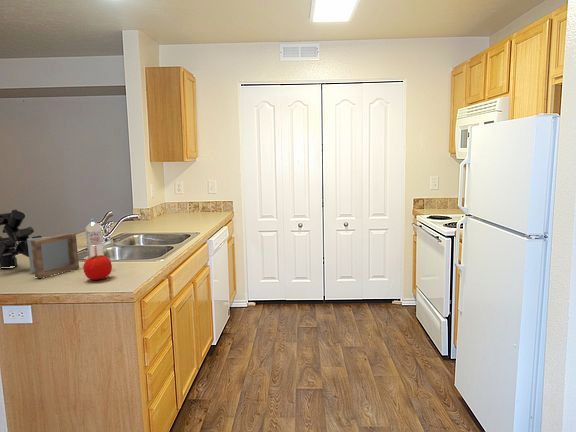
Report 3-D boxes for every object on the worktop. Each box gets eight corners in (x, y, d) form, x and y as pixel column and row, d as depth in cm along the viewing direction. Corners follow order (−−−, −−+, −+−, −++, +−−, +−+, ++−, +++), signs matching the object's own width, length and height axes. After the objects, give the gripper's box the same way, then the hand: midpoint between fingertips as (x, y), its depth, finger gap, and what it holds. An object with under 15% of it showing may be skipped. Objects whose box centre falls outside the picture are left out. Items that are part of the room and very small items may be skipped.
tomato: (104, 274, 207) (102, 250, 206) (117, 278, 200) (115, 253, 199) (79, 280, 198) (76, 255, 197) (92, 284, 191) (89, 259, 190)
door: (31, 271, 215) (27, 238, 213) (70, 266, 223) (67, 234, 221) (30, 272, 213) (27, 239, 211) (70, 267, 221) (67, 235, 218)
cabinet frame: (35, 278, 204) (30, 240, 202) (73, 267, 222) (70, 233, 219) (40, 279, 203) (36, 241, 200) (79, 268, 220) (75, 233, 218)
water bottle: (107, 268, 218) (102, 217, 214) (101, 272, 211) (97, 219, 208) (93, 269, 218) (88, 218, 214) (87, 273, 211) (82, 220, 207)
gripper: (0, 225, 208) (17, 250, 205) (38, 219, 225) (55, 242, 221) (-8, 241, 213) (9, 265, 209) (30, 234, 229) (46, 256, 226)
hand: (31, 257), depth 216 cm, fingers closed
